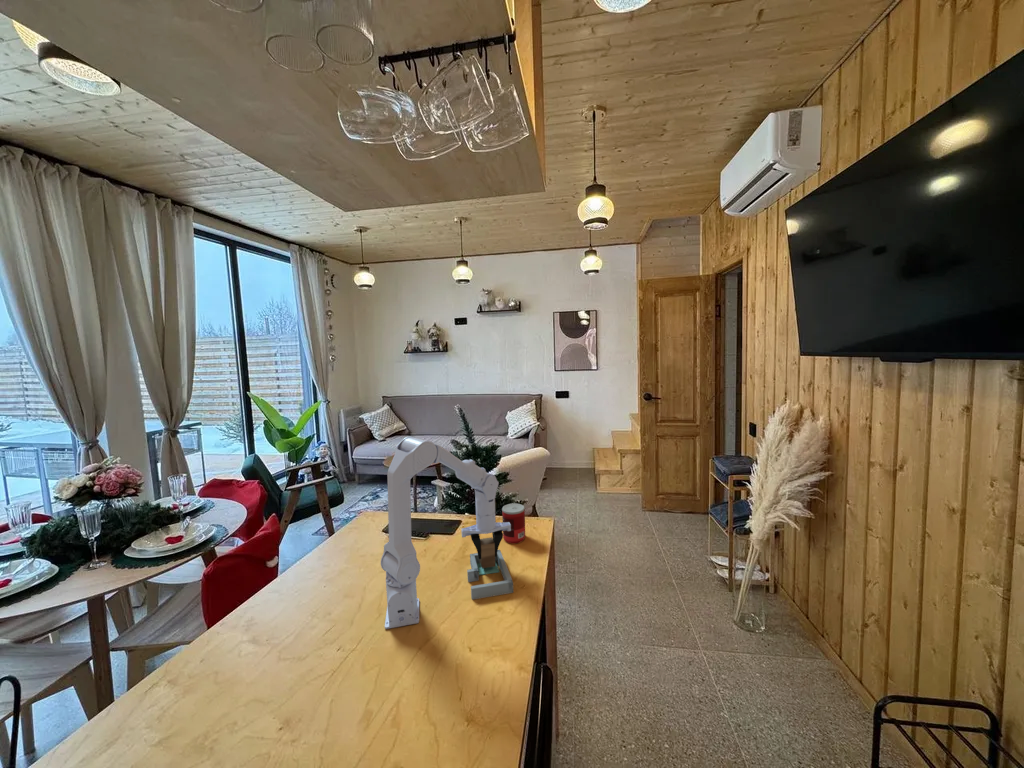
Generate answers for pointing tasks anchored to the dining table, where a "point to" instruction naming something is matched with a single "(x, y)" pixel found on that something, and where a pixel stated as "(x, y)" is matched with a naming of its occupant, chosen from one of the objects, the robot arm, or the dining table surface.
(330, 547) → the dining table surface
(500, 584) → the grey open rectangular frame
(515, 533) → the canned food
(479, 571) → the pad
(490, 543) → the block
